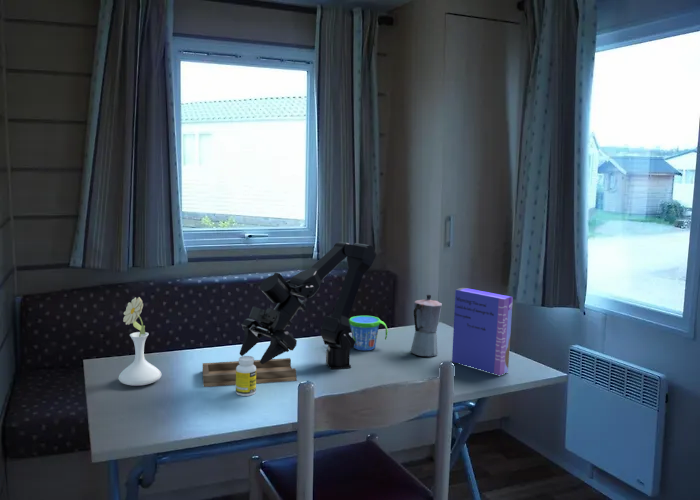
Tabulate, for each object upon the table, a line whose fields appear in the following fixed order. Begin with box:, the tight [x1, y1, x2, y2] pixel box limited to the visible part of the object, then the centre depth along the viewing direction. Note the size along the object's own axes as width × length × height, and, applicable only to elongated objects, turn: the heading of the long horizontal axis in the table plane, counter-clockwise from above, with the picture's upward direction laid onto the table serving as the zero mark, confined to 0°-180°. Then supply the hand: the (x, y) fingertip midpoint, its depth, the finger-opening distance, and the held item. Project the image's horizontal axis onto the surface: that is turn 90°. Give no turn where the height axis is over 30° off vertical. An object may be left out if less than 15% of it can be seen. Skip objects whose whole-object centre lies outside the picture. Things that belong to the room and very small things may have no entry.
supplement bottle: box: [235, 355, 257, 397], centre depth 162 cm, size 5×5×10 cm
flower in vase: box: [118, 296, 162, 387], centre depth 166 cm, size 13×11×25 cm
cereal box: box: [451, 287, 514, 376], centre depth 187 cm, size 17×5×24 cm, turn 45°
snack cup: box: [349, 315, 389, 351], centre depth 205 cm, size 16×10×10 cm
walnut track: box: [202, 357, 298, 388], centre depth 175 cm, size 26×13×3 cm, turn 105°
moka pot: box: [410, 294, 443, 357], centre depth 199 cm, size 10×15×20 cm, turn 148°
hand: (250, 359), depth 162 cm, fingers open, 9 cm apart
